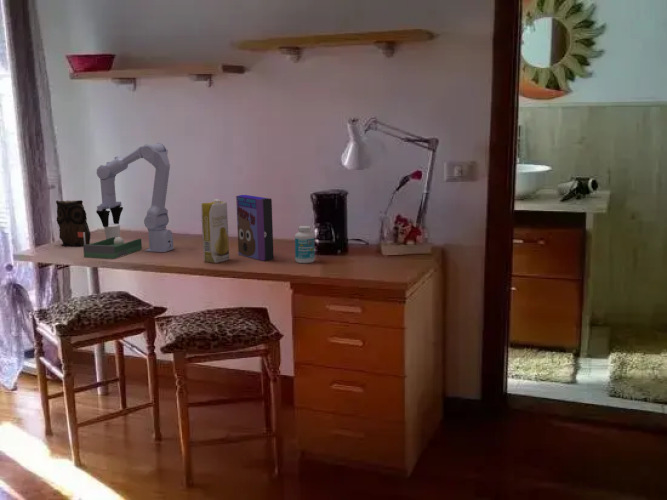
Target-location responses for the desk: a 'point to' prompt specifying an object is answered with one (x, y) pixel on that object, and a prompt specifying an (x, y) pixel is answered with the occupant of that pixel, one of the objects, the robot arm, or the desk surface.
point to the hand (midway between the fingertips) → (111, 225)
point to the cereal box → (255, 227)
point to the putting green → (109, 248)
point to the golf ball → (118, 241)
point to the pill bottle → (304, 245)
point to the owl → (72, 223)
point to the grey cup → (112, 231)
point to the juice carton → (215, 231)
